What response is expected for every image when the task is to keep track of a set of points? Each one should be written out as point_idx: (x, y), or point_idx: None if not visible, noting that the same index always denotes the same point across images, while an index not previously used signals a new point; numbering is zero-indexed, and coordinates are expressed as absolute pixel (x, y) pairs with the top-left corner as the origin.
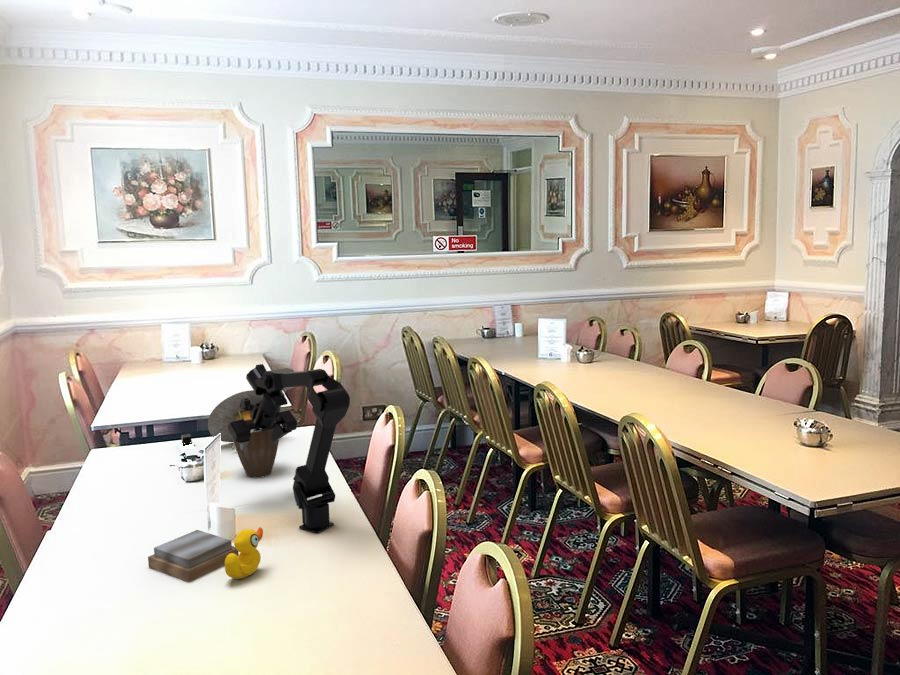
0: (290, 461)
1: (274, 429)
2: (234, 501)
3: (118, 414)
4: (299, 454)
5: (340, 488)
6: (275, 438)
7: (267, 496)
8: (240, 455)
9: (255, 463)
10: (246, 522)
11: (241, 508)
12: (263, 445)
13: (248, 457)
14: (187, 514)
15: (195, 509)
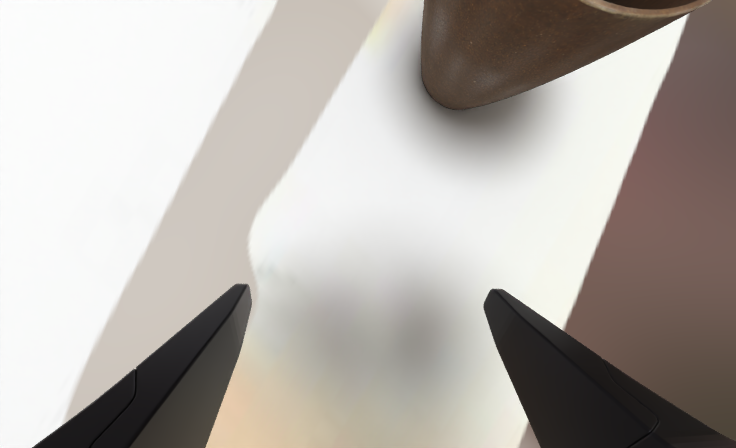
0: None
1: (611, 418)
2: (278, 230)
3: None
4: None
5: None
6: (524, 388)
7: (370, 266)
8: (424, 8)
9: (446, 83)
10: None
11: (260, 300)
12: (515, 68)
13: (436, 52)
14: (110, 223)
15: (153, 201)
